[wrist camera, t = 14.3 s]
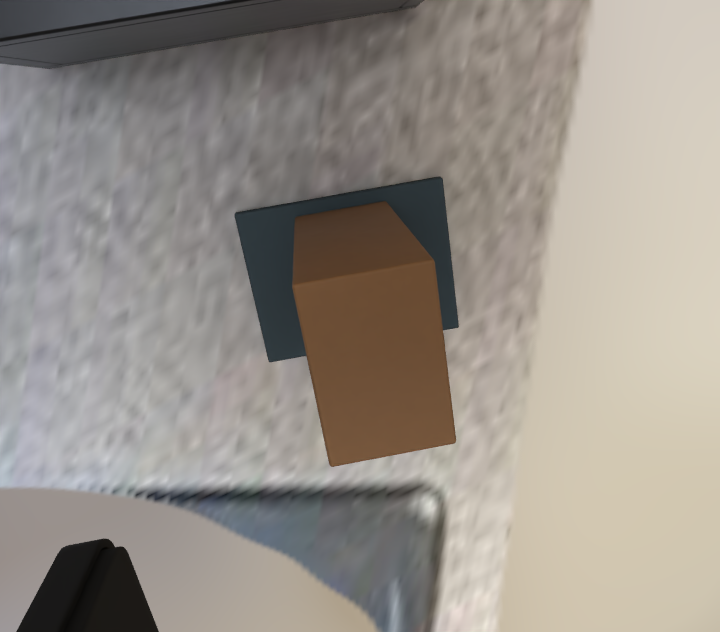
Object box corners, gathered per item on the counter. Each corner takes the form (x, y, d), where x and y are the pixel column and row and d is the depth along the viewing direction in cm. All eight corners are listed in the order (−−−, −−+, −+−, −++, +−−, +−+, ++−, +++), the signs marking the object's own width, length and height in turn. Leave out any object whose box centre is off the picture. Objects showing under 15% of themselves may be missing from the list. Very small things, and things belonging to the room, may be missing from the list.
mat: (440, 176, 26) (442, 177, 26) (456, 324, 29) (458, 327, 28) (235, 212, 26) (234, 214, 26) (269, 358, 29) (269, 362, 28)
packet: (386, 200, 26) (434, 258, 17) (404, 328, 28) (457, 444, 19) (294, 216, 26) (291, 285, 17) (319, 344, 28) (329, 468, 19)
